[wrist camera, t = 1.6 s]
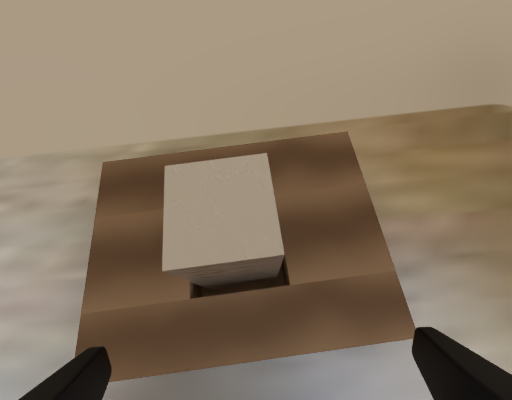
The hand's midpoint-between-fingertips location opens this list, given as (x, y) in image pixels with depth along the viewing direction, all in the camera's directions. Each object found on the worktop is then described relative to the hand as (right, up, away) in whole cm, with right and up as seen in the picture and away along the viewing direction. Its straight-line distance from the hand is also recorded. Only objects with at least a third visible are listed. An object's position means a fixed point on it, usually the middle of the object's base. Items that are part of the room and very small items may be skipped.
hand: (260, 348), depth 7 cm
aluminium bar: (-1, 0, +13) cm, 13 cm away
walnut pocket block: (-1, -1, +15) cm, 15 cm away
